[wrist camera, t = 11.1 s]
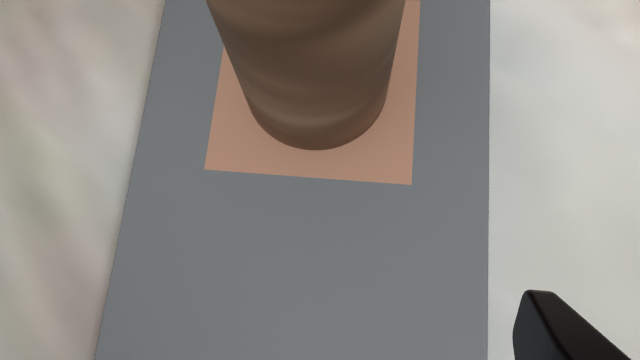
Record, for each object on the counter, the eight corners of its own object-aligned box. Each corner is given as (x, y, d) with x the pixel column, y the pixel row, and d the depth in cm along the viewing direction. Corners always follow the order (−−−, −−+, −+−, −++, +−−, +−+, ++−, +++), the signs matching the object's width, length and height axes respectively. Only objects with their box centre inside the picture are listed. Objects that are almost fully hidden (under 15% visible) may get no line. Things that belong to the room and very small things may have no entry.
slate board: (477, 547, 15) (486, 562, 14) (82, 497, 16) (64, 507, 15) (483, 8, 20) (490, -9, 19) (178, -6, 21) (170, -23, 20)
